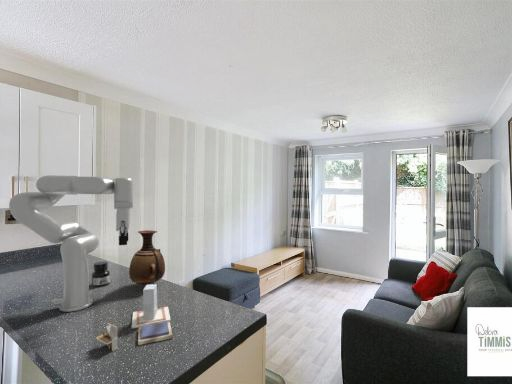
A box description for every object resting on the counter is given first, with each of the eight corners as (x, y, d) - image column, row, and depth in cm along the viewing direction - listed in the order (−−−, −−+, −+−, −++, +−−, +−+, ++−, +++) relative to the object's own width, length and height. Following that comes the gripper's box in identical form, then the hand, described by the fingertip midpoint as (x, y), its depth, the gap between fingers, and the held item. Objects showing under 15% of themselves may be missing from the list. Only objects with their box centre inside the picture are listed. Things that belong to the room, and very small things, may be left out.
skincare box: (146, 313, 113) (146, 284, 113) (157, 312, 113) (157, 283, 113) (143, 319, 107) (142, 289, 107) (154, 319, 107) (154, 288, 107)
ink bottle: (92, 288, 144) (92, 266, 144) (89, 284, 150) (89, 263, 150) (112, 284, 150) (112, 263, 150) (108, 280, 157) (108, 260, 157)
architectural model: (107, 355, 86) (107, 331, 86) (96, 348, 90) (95, 326, 90) (117, 349, 89) (117, 327, 89) (106, 343, 93) (106, 321, 93)
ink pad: (138, 345, 91) (138, 339, 91) (138, 331, 100) (138, 325, 100) (172, 338, 95) (172, 332, 95) (169, 325, 104) (169, 320, 104)
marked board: (131, 328, 102) (131, 325, 102) (133, 314, 114) (133, 311, 114) (170, 321, 107) (170, 318, 107) (167, 308, 119) (167, 305, 119)
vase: (130, 282, 154) (130, 229, 154) (164, 278, 161) (163, 227, 161) (127, 295, 134) (127, 235, 134) (166, 290, 141) (166, 232, 141)
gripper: (116, 204, 129) (116, 240, 129) (112, 206, 113) (112, 247, 113) (133, 204, 132) (133, 239, 132) (131, 205, 116) (132, 245, 116)
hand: (123, 243), depth 122 cm, fingers open, 9 cm apart
